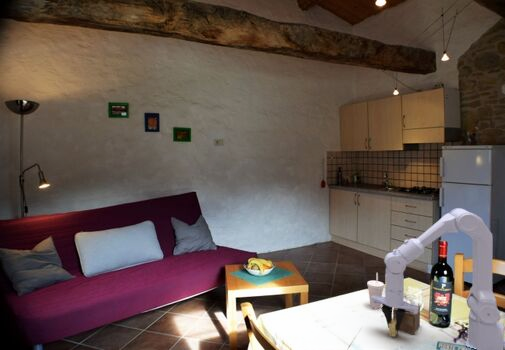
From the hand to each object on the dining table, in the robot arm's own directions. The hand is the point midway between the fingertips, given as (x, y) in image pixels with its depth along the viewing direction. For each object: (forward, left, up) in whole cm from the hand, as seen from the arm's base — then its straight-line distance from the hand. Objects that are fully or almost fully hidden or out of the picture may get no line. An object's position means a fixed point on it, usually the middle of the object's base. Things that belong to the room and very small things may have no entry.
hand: (394, 328), depth 113 cm
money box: (-2, -8, -3) cm, 9 cm away
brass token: (0, 0, -2) cm, 2 cm away
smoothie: (+12, -18, -3) cm, 22 cm away
